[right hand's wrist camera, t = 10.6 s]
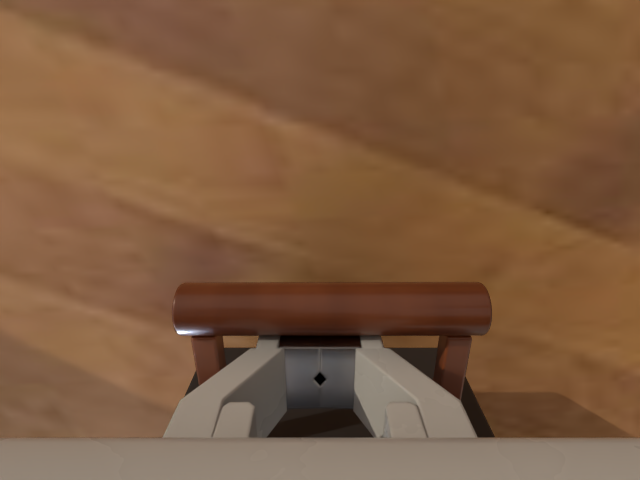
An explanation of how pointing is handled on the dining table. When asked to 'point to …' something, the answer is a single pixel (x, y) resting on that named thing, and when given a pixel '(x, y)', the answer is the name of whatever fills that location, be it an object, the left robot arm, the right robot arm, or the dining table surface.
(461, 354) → the drawer
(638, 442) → the right robot arm
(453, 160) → the dining table surface
